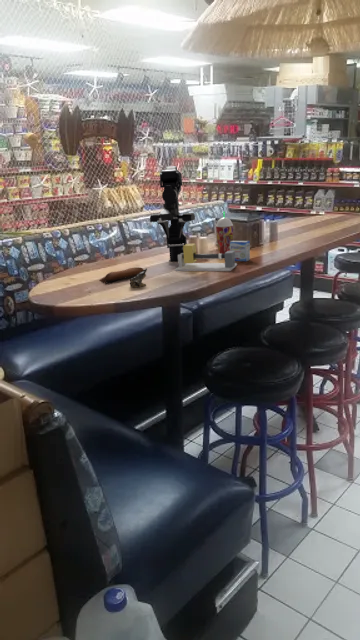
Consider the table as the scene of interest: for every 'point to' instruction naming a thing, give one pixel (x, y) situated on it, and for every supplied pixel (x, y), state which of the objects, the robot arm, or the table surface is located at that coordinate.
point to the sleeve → (189, 253)
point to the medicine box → (241, 250)
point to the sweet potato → (121, 274)
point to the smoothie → (224, 234)
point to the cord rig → (226, 266)
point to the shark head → (138, 279)
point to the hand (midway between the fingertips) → (173, 237)
